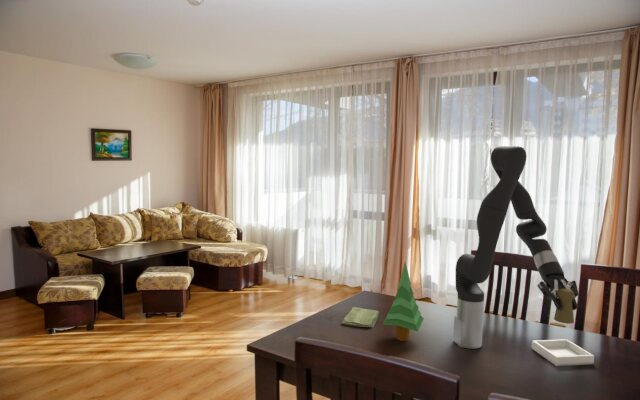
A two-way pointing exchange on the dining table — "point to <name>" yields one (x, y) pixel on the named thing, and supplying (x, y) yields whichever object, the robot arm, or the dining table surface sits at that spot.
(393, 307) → the decorative tree
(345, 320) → the washcloth
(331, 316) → the dining table surface
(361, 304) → the dining table surface
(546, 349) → the tray
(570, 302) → the cork
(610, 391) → the dining table surface
